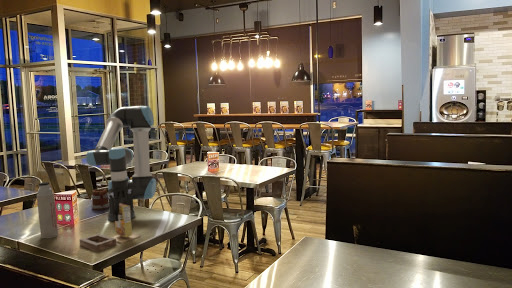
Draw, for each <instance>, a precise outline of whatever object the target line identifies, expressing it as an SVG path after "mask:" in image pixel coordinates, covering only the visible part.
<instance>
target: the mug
mask: <svg viewBox="0 0 512 288" xmlns="http://www.w3.org/2000/svg"><path fill="white" fill-rule="evenodd" d="M91 192H92V193H91V196H90V198H91V199H92V204H91V206H90V207H91V209H92V210H93V211H102V210H107V209H109V208H110V207H109V199H108V197H107V195H108V194H109V192H108V188H99V189H98V188H96V189H93V190H92V191H91Z"/></svg>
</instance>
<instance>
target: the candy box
mask: <svg viewBox="0 0 512 288" xmlns="http://www.w3.org/2000/svg"><path fill="white" fill-rule="evenodd" d="M119 214H120V220H121V228H118V227H117V225H116V221H114V228H115V235H116V236H117V235H120V236H123V237H125V238H126V237H128V236H132V234H133V229H132V218H131V212H130V205H126V204H121V203H120V204H119Z"/></svg>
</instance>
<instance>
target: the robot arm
mask: <svg viewBox="0 0 512 288" xmlns="http://www.w3.org/2000/svg"><path fill="white" fill-rule="evenodd" d="M154 118H155V117H154V113H153V111H152V108H151V107H150V106H147V105H135V106H134V105H133V106H122V107H119V108H117V109H116V110H114V111H113V112H111V113H110V115H108V117H107V119H106V120H105V127H104V130H103V132H102V133H101V135H100V138H99V140H98V142H97V144H96V146H95V148H94V150H91V151H87V153H86V154H85V155H86V157H85V160H86V163H87V165H88V166H96V167H98V166H109V168H110V170H109V171H110V179H111V180H110V181H108V183H107V192H108V195H107V197H108V201H109V208H108V212H107V220H108V221H110V222H115V221H116V225H117V227H118V228H121V220H120V214H119V204H120V203H121V204H126V205H130V212H131V219H133V218H135V216H136V213H135V210H134V200H149V199H153V198H154V196H155V194H156V190H157V180H156V178H154V177H153V174H152V173H151V170H150V168H151V166H150V140H149V138H150V137H149V132H150V131H151V129H152V127H153V126H154V124H155V119H154ZM126 127H127V128H129V129H130V131H132V136H133V139H132V140H133V150H131V149H130V148H124V147H121V146H120V147H113V146H114V144H115V142H116V139H117V137H118V135H119V132H120V131H122V130H123V128H126ZM132 161H133V163H134V164H133V166H134V174H133V175H132V176H131V179H130V178H129V176H128V170H127V165H128V164H129V163H131V162H132Z"/></svg>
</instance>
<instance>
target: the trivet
mask: <svg viewBox="0 0 512 288" xmlns="http://www.w3.org/2000/svg"><path fill="white" fill-rule="evenodd" d="M110 237H111V238H115V239H116V243H119V244H123V243H126V242H130V241H133V240H135V239H138V238H140V237H141V235H140V234H136V233H132V236H128V237H126V238H125V237H123V236H120V235H117V234H116V235H114V236H110Z"/></svg>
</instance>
